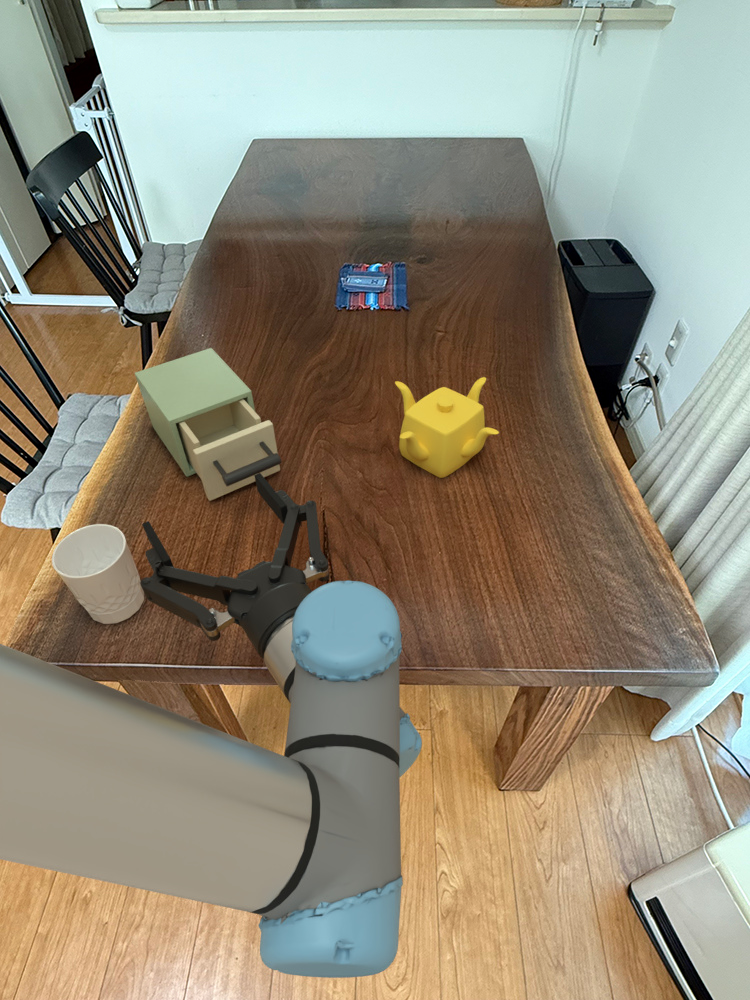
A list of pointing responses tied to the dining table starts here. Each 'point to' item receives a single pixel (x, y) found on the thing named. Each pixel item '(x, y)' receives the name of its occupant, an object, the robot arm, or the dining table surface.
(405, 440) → the teapot
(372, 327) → the dining table surface
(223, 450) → the drawer
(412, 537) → the dining table surface
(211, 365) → the cabinet
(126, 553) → the white cup
